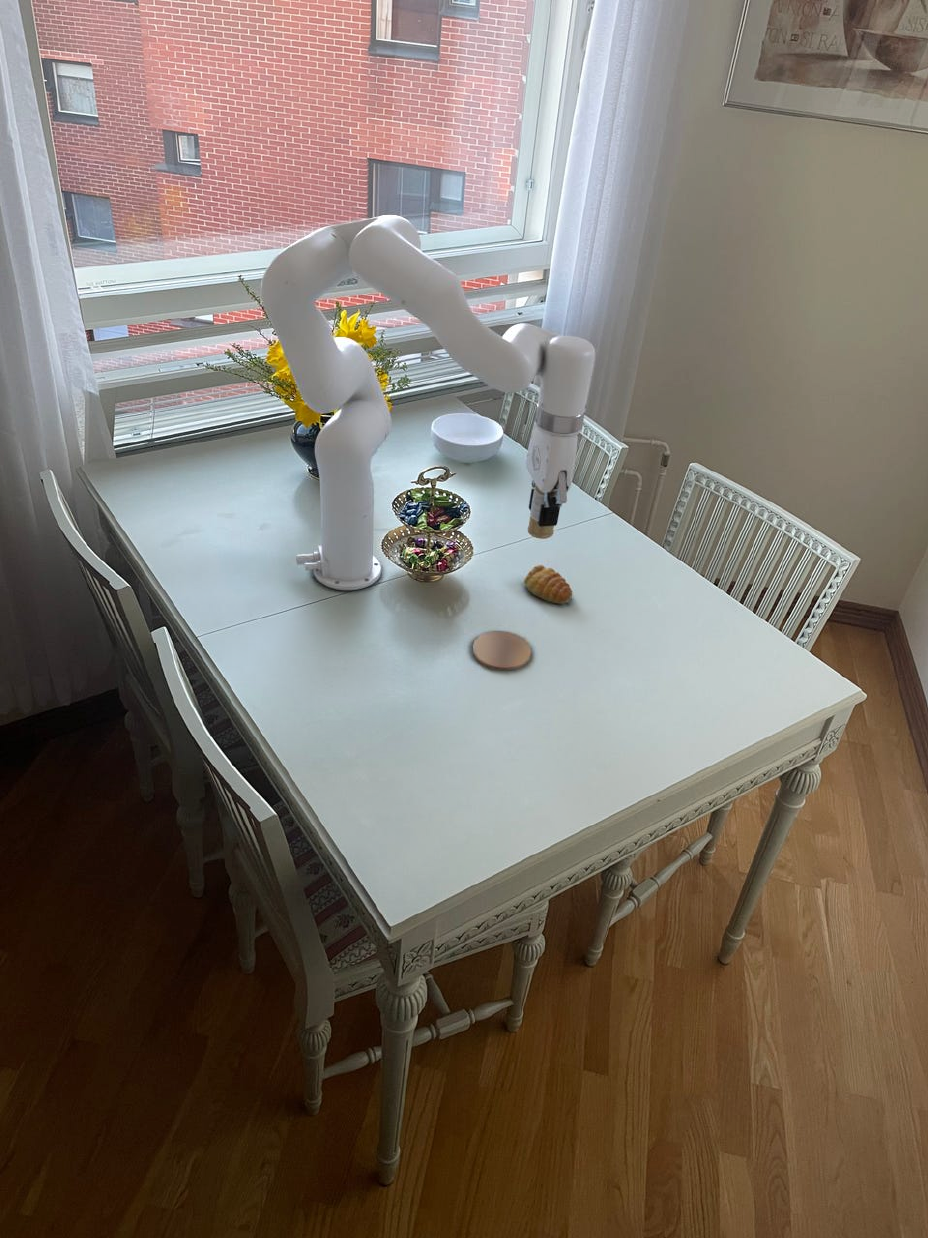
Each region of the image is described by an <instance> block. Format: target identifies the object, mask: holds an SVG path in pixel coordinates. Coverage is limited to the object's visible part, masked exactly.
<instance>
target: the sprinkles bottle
mask: <svg viewBox="0 0 928 1238" xmlns="http://www.w3.org/2000/svg"><path fill="white" fill-rule="evenodd" d="M554 487H556V485H555V486H554ZM556 495H557V493H550V498H551V497H555V496H556ZM541 504H544V493H543V492H541V491H540V489H539V488H538V487H537V485H536V484H535V488H534V493H533V499H532V506H531V510H530V514H529V515H530V516H529V520H528V527H527V533H528V534H529V535H530V536H531V537H534V538H536V539H540V540H541V539H542V540H544V539H549V538H552V537H553V535H554V534H555V533H554V532H555V531H554V528H555V526H543V527H540V526H539V525H538V521H539V515H540V509H541Z"/></svg>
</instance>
